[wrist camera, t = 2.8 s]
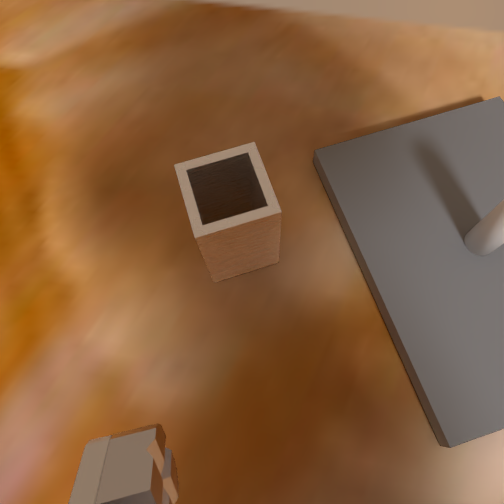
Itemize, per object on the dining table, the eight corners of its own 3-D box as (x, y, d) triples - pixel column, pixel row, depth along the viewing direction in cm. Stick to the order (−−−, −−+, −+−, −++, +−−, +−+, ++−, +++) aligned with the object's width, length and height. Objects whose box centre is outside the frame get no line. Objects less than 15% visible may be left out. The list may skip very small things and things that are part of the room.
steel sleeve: (278, 262, 30) (281, 211, 22) (213, 282, 29) (194, 238, 22) (258, 206, 31) (254, 141, 24) (196, 224, 31) (173, 164, 24)
